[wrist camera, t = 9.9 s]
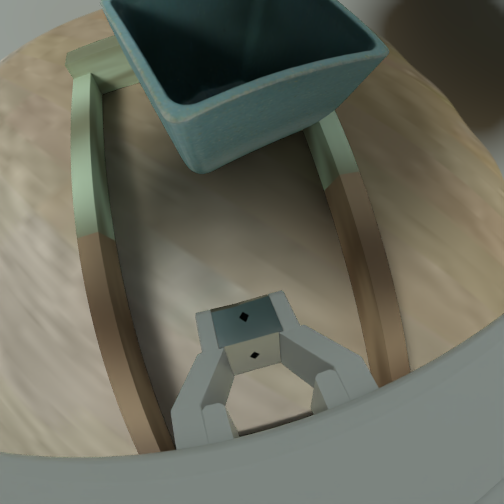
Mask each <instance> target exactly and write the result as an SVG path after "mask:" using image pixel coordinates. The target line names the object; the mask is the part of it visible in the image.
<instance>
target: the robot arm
mask: <svg viewBox="0 0 504 504" xmlns="http://www.w3.org/2000/svg"><path fill="white" fill-rule="evenodd" d="M196 323H197V328H198V334H199V339H200V344H201V350H202V353H200V354H198V355H197V357H196V359H195V361H194V363H193V365H192V368H191V370H190V372H189V374H188V376H187V378H186V380H185V382H184V384H183V386H182V389H181V391H180V393H179V395H178V397H177V399H176V401H175V403H174V405H173V407H172V409H171V418H172V425H173V432H174V438H175V444H176V450H171V451H164V452H156V453H147V454H137V455H125V456H109V457H48V456H33V455H22V454H13V453H5V452H0V504H504V314H502V315H501V316H500V317H498V318H497V319H496V320H494V321H493V322H491V323H490V324H489V325H487V326H486V327H484V328H483V329H482V330H480V331H479V332H477V333H476V334H474V335H473V336H471V337H470V338H468V339H467V340H465V341H464V342H462V343H461V344H459V345H457V346H456V347H454V348H453V349H451V350H449V351H448V352H446V353H444V354H443V355H441V356H439V357H438V358H436V359H434V360H432V361H431V362H429V363H427V364H425V365H423V366H422V367H420V368H418V369H416V370H414V371H412V372H410V373H409V374H407V375H405V376H403V377H401V378H399V379H397V380H395V381H393V382H391V383H389V384H387V385H385V386H382V387H380V388H379V387H378V386H377V384H376V382H375V380H374V378H373V377H372V375H371V373H370V371H369V369H368V368H367V366H366V364H365V362H364V361H363V359H362V357H361V356H359V355H358V354H356V353H354V352H352V351H350V350H349V349H347V348H345V347H343V346H341V345H340V344H338V343H336V342H334V341H332V340H331V339H329V338H327V337H325V336H323V335H322V334H320V333H318V332H316V331H315V330H313V329H311V328H309V327H308V326H306V325H301V326H300V324H299V322H298V320H297V318H296V316H295V314H294V312H293V310H292V308H291V306H290V304H289V302H288V300H287V298H286V296H285V294H284V292H283V291H282V290H281V291H278V292H274V293H270V294H268V295H267V294H266V295H263V296H259V297H256V298H252V299H249V300H245V301H242V302H239V303H236V304H231V305H227V306H223V307H219V308H214V309H211V310H206V311H202V312H198V313H196ZM277 363H282V364H283V365H284V366H285V367H287V368H288V369H289V370H291V371H292V372H293V373H295V374H296V375H297V376H299V377H300V378H301V379H303V380H304V381H305V382H307V383H308V384H309V385H311V386H312V387H313V388H314V390H313V396H312V402H311V410H312V412H313V415H312V416H309V417H306V418H303V419H300V420H297V421H294V422H291V423H288V424H285V425H282V426H278V427H275V428H272V429H268V430H265V431H261V432H257V433H254V434H250V435H246V436H242V437H239V434H238V431H237V428H236V427H235V425H234V423H233V421H232V419H231V417H230V415H229V413H228V411H227V410H226V408H225V405H226V402H227V398H228V395H229V392H230V389H231V386H232V383H233V380H234V376H235V375H238V374H242V373H245V372H249V371H252V370H255V369H259V368H262V367H266V366H270V365H274V364H277Z"/></svg>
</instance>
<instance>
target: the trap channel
mask: <svg viewBox="0 0 504 504" xmlns="http://www.w3.org/2000/svg"><path fill="white" fill-rule="evenodd" d="M65 66H66V68H67V69H68V71H69V73H70V74H71V76H72V77H73V79H74V80H73V92H72V109H71V175H72V192H73V205H74V216H75V225H76V234H77V241H78V248H79V255H80V261H81V267H82V273H83V279H84V284H85V289H86V294H87V299H88V303H89V308H90V312H91V316H92V321H93V325H94V329H95V333H96V336H97V340H98V344H99V347H100V351H101V354H102V358H103V361H104V364H105V367H106V371H107V374H108V377H109V380H110V383H111V386H112V389H113V392H114V394H115V397H116V400H117V403H118V405H119V408H120V411H121V413H122V416H123V418H124V421H125V423H126V426H127V428H128V431H129V433H130V435H131V438H132V440H133V442H134V445H135V447H136V449H137V451H138V453H139V454H147V453H156V452H164V451H171V450H176V449H175V446H174V444H173V441H172V439H171V436H170V434H169V432H168V429H167V426H166V424H165V421H164V419H163V416H162V413H161V411H160V408H159V405H158V402H157V400H156V397H155V394H154V391H153V388H152V385H151V382H150V379H149V376H148V373H147V370H146V367H145V363H144V360H143V357H142V353H141V350H140V347H139V343H138V340H137V336H136V332H135V329H134V325H133V321H132V317H131V313H130V309H129V305H128V301H127V296H126V292H125V288H124V283H123V278H122V274H121V269H120V264H119V258H118V253H117V247H116V242H115V236H114V230H113V223H112V216H111V209H110V202H109V194H108V185H107V175H106V165H105V152H104V137H103V114H102V94H105V93H108V92H111V91H114V90H117V89H120V88H123V87H126V86H130V85H133V84H136V83H140V82H139V80H138V78H137V77H136V75H135V73H134V71H133V69H132V68H131V66H130V64H129V62H128V60H127V58H126V56H125V54H124V52H123V50H122V48H121V46H120V44H119V42H118V40H117V38H116V36H115V35H114V36H111V37H108V38H105V39H102V40H99V41H97V42H94V43H91V44H88V45H86V46H83V47H81V48H78V49H76V50H73V51H71V52H68V53H67V56H66V63H65ZM303 132H304V135H305V137H306V140H307V143H308V146H309V148H310V151H311V154H312V157H313V159H314V162H315V165H316V168H317V171H318V174H319V177H320V180H321V183H322V186H323V189H324V192H325V195H326V198H327V201H328V204H329V207H330V211H331V214H332V217H333V220H334V224H335V227H336V230H337V234H338V237H339V240H340V244H341V247H342V251H343V255H344V258H345V262H346V266H347V269H348V273H349V277H350V281H351V285H352V289H353V293H354V297H355V301H356V305H357V309H358V313H359V318H360V322H361V326H362V331H363V336H364V340H365V345H366V350H367V355H368V360H369V365H370V370H371V375H372V377H373V378H374V380H375V382H376V384H377V386H378V387H379V388H380V387H382V386H385V385H387V384H389V383H391V382H393V381H395V380H397V379H399V378H401V377H403V376H405V375H407V374H409V373H410V368H409V361H408V355H407V349H406V343H405V337H404V331H403V326H402V321H401V316H400V311H399V306H398V302H397V297H396V293H395V289H394V284H393V280H392V276H391V272H390V268H389V264H388V260H387V257H386V253H385V249H384V246H383V242H382V239H381V235H380V232H379V229H378V225H377V222H376V219H375V216H374V212H373V209H372V206H371V203H370V200H369V197H368V194H367V191H366V188H365V185H364V183H363V180H362V177H361V174H360V171H359V169H358V166H357V163H356V161H355V158H354V156H353V153H352V150H351V148H350V145H349V143H348V140H347V138H346V135H345V133H344V131H343V128H342V126H341V124H340V121H339V119H338V117H337V114H336V112H335V110H334V111H333V112H331V113H330V114H329V115H327V116H326V117H325V118H323V119H322V120H320V121H318V122H317V123H315V124H313V125H311V126H309V127H307V128H305V129H303Z"/></svg>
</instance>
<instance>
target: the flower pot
mask: <svg viewBox="0 0 504 504" xmlns="http://www.w3.org/2000/svg"><path fill="white" fill-rule="evenodd" d="M100 5H101V7H102V9H103V11H104V13H105V15H106V17H107V20H108V22H109V24H110V26H111V28H112V30H113V32H114V34H115V36H116V38H117V40H118V42H119V44H120V46H121V48H122V50H123V52H124V54H125V56H126V58H127V60H128V62H129V64H130V66H131V68H132V69H133V71H134V73H135V75H136V77H137V78H138V80H139V82H140V84H141V86H142V87H143V89H144V91H145V93H146V95H147V96H148V98H149V100H150V102H151V104H152V106H153V107H154V109H155V111H156V113H157V115H158V116H159V118H160V120H161V122H162V124H163V125H164V127H165V129H166V131H167V133H168V134H169V136H170V138H171V140H172V142H173V143H174V145H175V147H176V149H177V151H178V153H179V154H180V156H181V158H182V159H183V161H184V163H185V164H186V165H187V167H188V168H189V169H191V170H192V171H193V172H195V173H199V174H206V173H209V172H211V171H214V170H216V169H218V168H220V167H222V166H224V165H226V164H228V163H230V162H232V161H234V160H236V159H238V158H240V157H242V156H244V155H246V154H248V153H250V152H253V151H255V150H257V149H259V148H261V147H264V146H266V145H268V144H270V143H272V142H275V141H277V140H279V139H282V138H284V137H286V136H289V135H291V134H293V133H296V132H298V131H301V130H303V129H305V128H307V127H309V126H311V125H313V124H315V123H317V122H318V121H320V120H322V119H323V118H325V117H326V116H327V115H329V114H330V113H331V112H333V111H334V110H335V109H336V108H337V107H338V106H339V105H340V104H341V103H342V102H343V101H344V100H345V99H346V98H347V97H348V96H349V95H350V94H351V93H352V92H353V91H354V90H355V89H356V88H357V87H358V85H359V84H360V83H361V82H362V81H363V80H364V79H365V78H366V77H367V76H368V75H369V74H370V73H371V72H372V71H373V70H374V69H375V68H376V67H377V66H378V65H379V63H380V62H381V61H382V60H383V59H384V58H385V57H386V56H387V55H388V53H389V50H388V48H387V46H386V45H385V44H384V43H383V42H382V41H381V40H380V39H379V38H378V36H377V35H376V34H375V33H374V32H372V30H370V29H369V28H368V27H367V26H366V25H365V24H364V23H363V22H362V21H361V20H359V18H357V17H356V16H355V15H354V14H353V13H352V12H350V11H349V10H348V9H347V8H346V7H344V6H343V5H342V4H341V3H340V2H339V1H337V0H101V2H100Z"/></svg>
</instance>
